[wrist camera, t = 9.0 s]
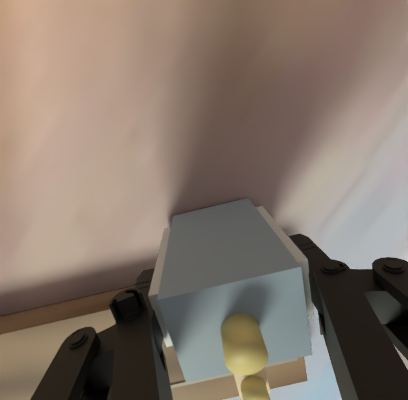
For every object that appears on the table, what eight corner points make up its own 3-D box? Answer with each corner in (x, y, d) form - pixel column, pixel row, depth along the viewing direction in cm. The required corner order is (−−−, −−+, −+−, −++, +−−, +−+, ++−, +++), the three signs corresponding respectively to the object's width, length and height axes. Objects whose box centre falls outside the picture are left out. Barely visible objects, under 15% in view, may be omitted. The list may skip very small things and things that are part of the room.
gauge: (172, 215, 16) (152, 327, 7) (248, 197, 16) (318, 289, 7) (212, 353, 20) (230, 538, 11) (274, 339, 20) (342, 514, 11)
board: (-19, 321, 18) (-45, 345, 16) (280, 251, 18) (291, 268, 16) (40, 413, 21) (24, 444, 19) (296, 356, 21) (307, 382, 19)
